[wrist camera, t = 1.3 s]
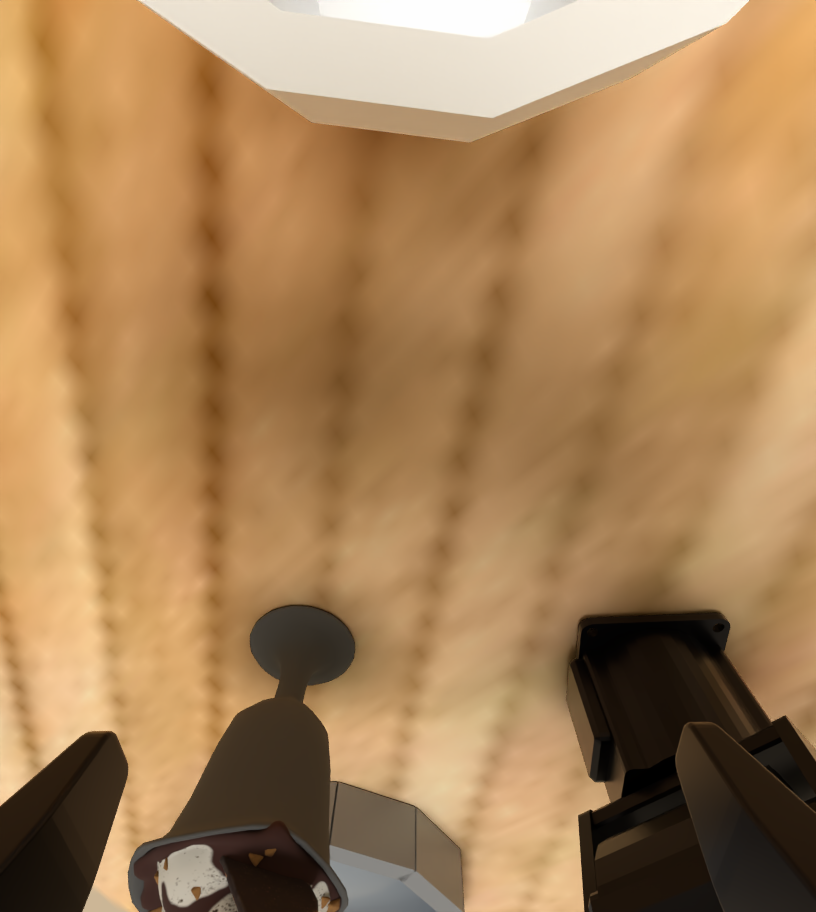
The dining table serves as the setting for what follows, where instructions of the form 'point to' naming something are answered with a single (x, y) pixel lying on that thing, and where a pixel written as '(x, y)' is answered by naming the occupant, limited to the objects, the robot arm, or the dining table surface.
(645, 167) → the dining table surface
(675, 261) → the dining table surface
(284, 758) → the sundae
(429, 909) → the grey polygonal tray
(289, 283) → the dining table surface
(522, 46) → the foam cup
